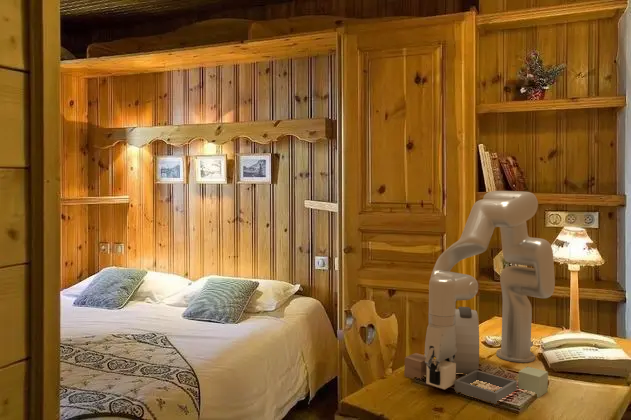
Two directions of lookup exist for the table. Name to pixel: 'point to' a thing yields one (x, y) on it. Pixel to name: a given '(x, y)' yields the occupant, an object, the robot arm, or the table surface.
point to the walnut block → (415, 366)
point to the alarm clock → (466, 340)
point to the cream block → (444, 374)
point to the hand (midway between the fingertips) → (441, 380)
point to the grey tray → (475, 391)
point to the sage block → (533, 380)
